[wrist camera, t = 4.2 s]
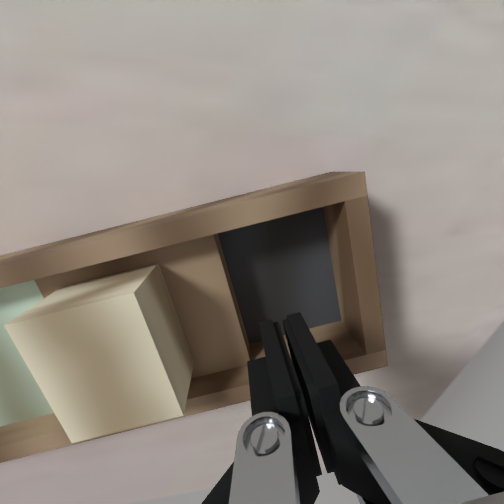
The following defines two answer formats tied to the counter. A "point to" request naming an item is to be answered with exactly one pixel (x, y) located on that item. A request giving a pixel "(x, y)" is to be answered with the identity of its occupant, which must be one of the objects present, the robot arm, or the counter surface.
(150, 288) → the maple block
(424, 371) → the counter surface
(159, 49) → the counter surface
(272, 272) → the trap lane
